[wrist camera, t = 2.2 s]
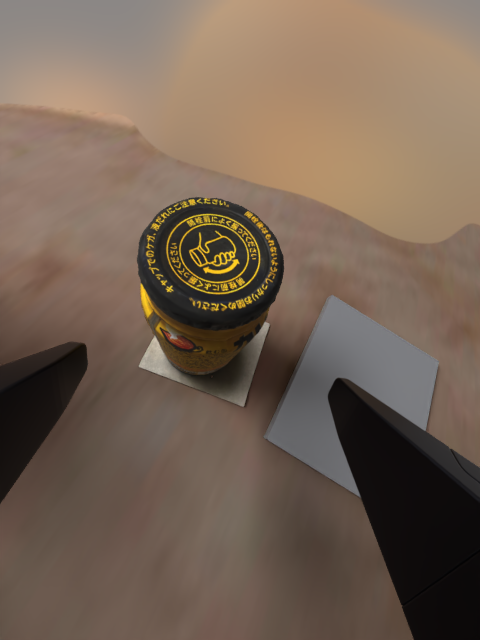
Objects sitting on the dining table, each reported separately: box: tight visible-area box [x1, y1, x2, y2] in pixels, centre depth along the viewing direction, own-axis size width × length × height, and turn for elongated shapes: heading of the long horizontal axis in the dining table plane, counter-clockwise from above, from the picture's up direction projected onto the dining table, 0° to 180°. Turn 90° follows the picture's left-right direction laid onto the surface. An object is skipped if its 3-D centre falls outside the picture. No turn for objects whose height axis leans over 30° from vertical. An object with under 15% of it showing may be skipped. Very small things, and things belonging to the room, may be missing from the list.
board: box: [263, 295, 439, 498], centre depth 20 cm, size 14×12×1 cm
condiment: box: [137, 197, 284, 407], centre depth 13 cm, size 7×8×12 cm
